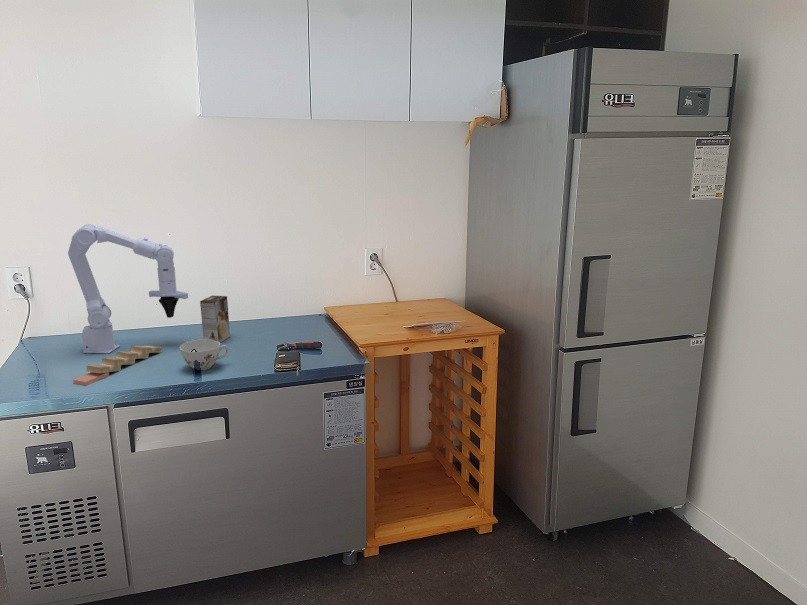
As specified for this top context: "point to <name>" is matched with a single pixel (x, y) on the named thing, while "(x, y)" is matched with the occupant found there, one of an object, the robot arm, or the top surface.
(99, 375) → the end domino
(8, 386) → the top surface
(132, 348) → the domino
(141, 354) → the domino
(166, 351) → the top surface
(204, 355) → the teacup
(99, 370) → the domino
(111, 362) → the domino
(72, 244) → the robot arm
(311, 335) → the top surface
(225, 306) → the coffee box
